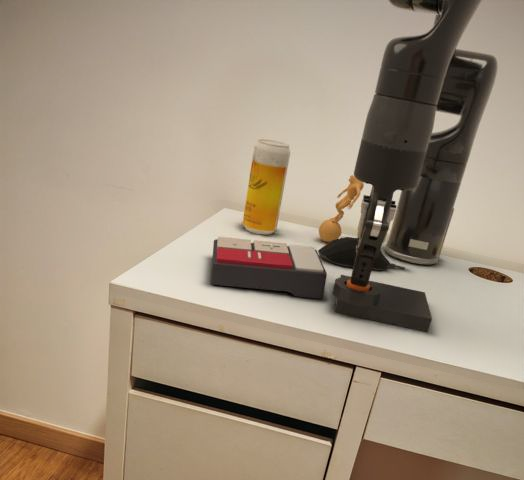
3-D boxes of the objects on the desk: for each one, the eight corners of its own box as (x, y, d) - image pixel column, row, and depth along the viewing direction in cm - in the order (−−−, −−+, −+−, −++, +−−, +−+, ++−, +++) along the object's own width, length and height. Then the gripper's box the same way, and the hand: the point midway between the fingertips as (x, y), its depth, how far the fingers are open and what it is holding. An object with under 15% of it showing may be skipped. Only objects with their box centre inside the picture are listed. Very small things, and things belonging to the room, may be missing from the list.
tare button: (344, 289, 77) (347, 277, 76) (366, 294, 76) (370, 282, 76) (343, 297, 74) (346, 284, 73) (366, 302, 74) (370, 289, 73)
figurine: (312, 233, 108) (326, 167, 102) (343, 237, 109) (359, 172, 103) (321, 247, 100) (337, 176, 95) (354, 252, 101) (372, 182, 96)
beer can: (241, 223, 106) (254, 136, 99) (273, 227, 107) (289, 142, 100) (242, 232, 101) (257, 142, 94) (277, 237, 101) (293, 148, 95)
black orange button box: (332, 285, 84) (338, 262, 82) (421, 304, 83) (428, 281, 81) (328, 314, 74) (334, 288, 72) (428, 335, 73) (437, 310, 71)
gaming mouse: (410, 276, 94) (417, 252, 92) (321, 264, 92) (326, 239, 90) (398, 263, 100) (405, 240, 98) (314, 251, 97) (319, 228, 96)
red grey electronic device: (214, 233, 84) (317, 243, 85) (212, 262, 86) (312, 271, 87) (212, 257, 74) (328, 268, 76) (210, 289, 76) (323, 299, 78)
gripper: (433, 155, 61) (389, 308, 68) (422, 142, 72) (386, 274, 80) (361, 141, 61) (326, 294, 69) (362, 131, 73) (332, 262, 81)
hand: (358, 283), depth 74 cm, fingers closed
